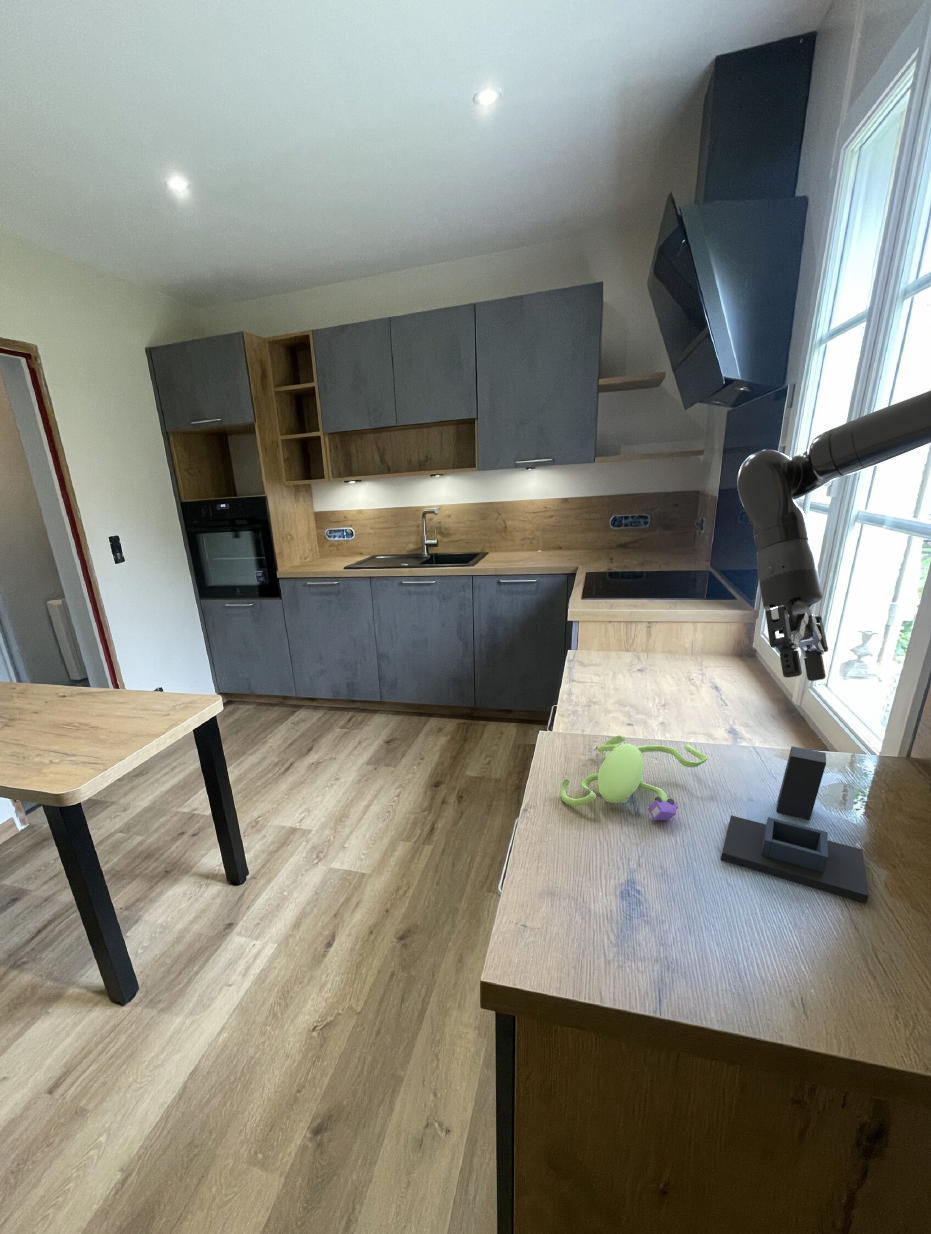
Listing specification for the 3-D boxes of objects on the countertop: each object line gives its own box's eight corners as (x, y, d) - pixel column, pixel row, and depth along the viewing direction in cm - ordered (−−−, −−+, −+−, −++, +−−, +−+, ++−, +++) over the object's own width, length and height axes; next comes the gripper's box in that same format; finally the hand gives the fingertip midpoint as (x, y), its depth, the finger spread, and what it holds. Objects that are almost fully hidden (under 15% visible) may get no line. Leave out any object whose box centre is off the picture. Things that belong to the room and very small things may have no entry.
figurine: (709, 771, 100) (714, 743, 98) (666, 842, 81) (672, 810, 79) (608, 745, 111) (611, 719, 109) (549, 802, 92) (551, 772, 90)
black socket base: (860, 856, 77) (867, 834, 75) (865, 903, 68) (874, 879, 67) (729, 821, 85) (734, 801, 84) (720, 859, 77) (725, 837, 76)
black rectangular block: (810, 808, 88) (825, 752, 84) (809, 820, 85) (826, 762, 81) (777, 800, 90) (791, 745, 87) (776, 811, 87) (790, 755, 84)
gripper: (795, 559, 78) (814, 670, 76) (834, 575, 86) (853, 676, 84) (739, 577, 84) (756, 680, 82) (781, 590, 92) (797, 685, 90)
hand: (805, 678), depth 83 cm, fingers open, 8 cm apart
